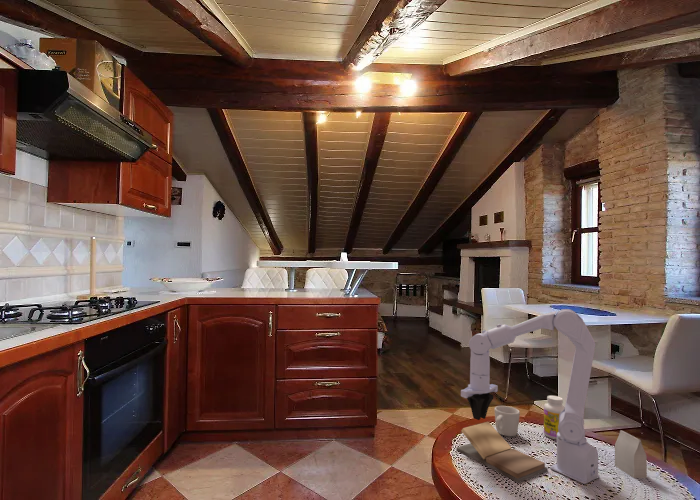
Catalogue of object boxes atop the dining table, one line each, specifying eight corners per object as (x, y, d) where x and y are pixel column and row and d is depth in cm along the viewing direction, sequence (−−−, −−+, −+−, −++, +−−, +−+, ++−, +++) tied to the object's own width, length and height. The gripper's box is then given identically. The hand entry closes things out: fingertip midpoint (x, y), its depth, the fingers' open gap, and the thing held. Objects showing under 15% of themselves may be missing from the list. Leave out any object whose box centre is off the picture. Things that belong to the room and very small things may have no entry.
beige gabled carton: (634, 478, 105) (633, 440, 106) (614, 465, 112) (614, 430, 113) (646, 478, 106) (646, 440, 106) (626, 465, 113) (626, 430, 113)
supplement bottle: (539, 433, 134) (539, 395, 134) (554, 431, 136) (554, 393, 136) (554, 441, 127) (554, 401, 128) (570, 439, 129) (570, 400, 130)
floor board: (547, 470, 108) (547, 463, 108) (518, 483, 101) (518, 475, 101) (485, 441, 126) (485, 435, 126) (456, 450, 119) (456, 443, 119)
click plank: (509, 450, 117) (511, 447, 117) (483, 459, 111) (485, 456, 111) (486, 424, 125) (488, 421, 124) (461, 431, 119) (462, 428, 118)
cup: (508, 443, 125) (509, 417, 126) (485, 435, 131) (485, 410, 132) (523, 434, 132) (523, 410, 133) (501, 427, 138) (501, 404, 139)
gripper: (484, 367, 128) (484, 410, 128) (453, 372, 121) (452, 417, 120) (503, 372, 122) (503, 417, 122) (471, 378, 115) (470, 425, 114)
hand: (479, 418), depth 120 cm, fingers closed
